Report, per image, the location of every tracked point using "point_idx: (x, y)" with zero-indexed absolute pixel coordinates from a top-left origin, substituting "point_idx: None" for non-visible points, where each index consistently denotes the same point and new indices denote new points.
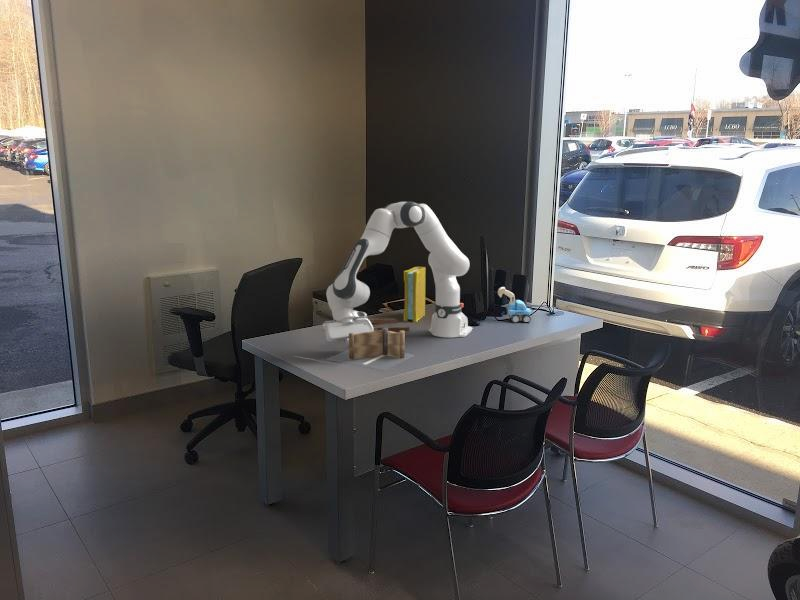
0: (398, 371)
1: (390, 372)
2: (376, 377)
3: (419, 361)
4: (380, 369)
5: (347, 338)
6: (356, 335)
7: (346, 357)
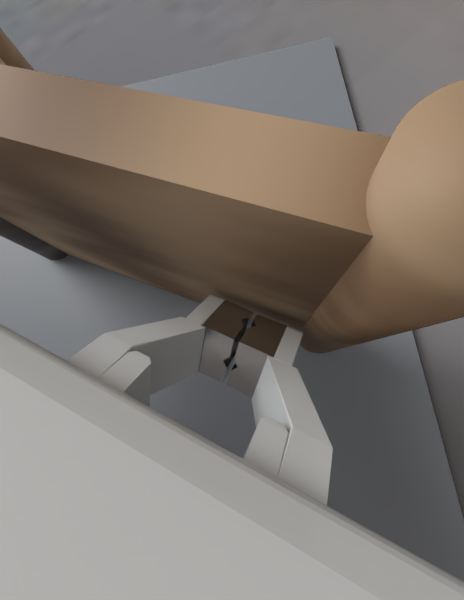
0: (268, 15)
1: (311, 26)
2: (440, 10)
3: (69, 60)
4: (331, 62)
5: (315, 480)
6: (295, 148)
7: None
